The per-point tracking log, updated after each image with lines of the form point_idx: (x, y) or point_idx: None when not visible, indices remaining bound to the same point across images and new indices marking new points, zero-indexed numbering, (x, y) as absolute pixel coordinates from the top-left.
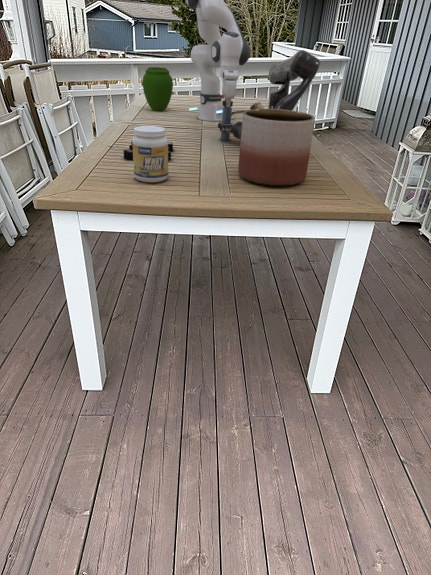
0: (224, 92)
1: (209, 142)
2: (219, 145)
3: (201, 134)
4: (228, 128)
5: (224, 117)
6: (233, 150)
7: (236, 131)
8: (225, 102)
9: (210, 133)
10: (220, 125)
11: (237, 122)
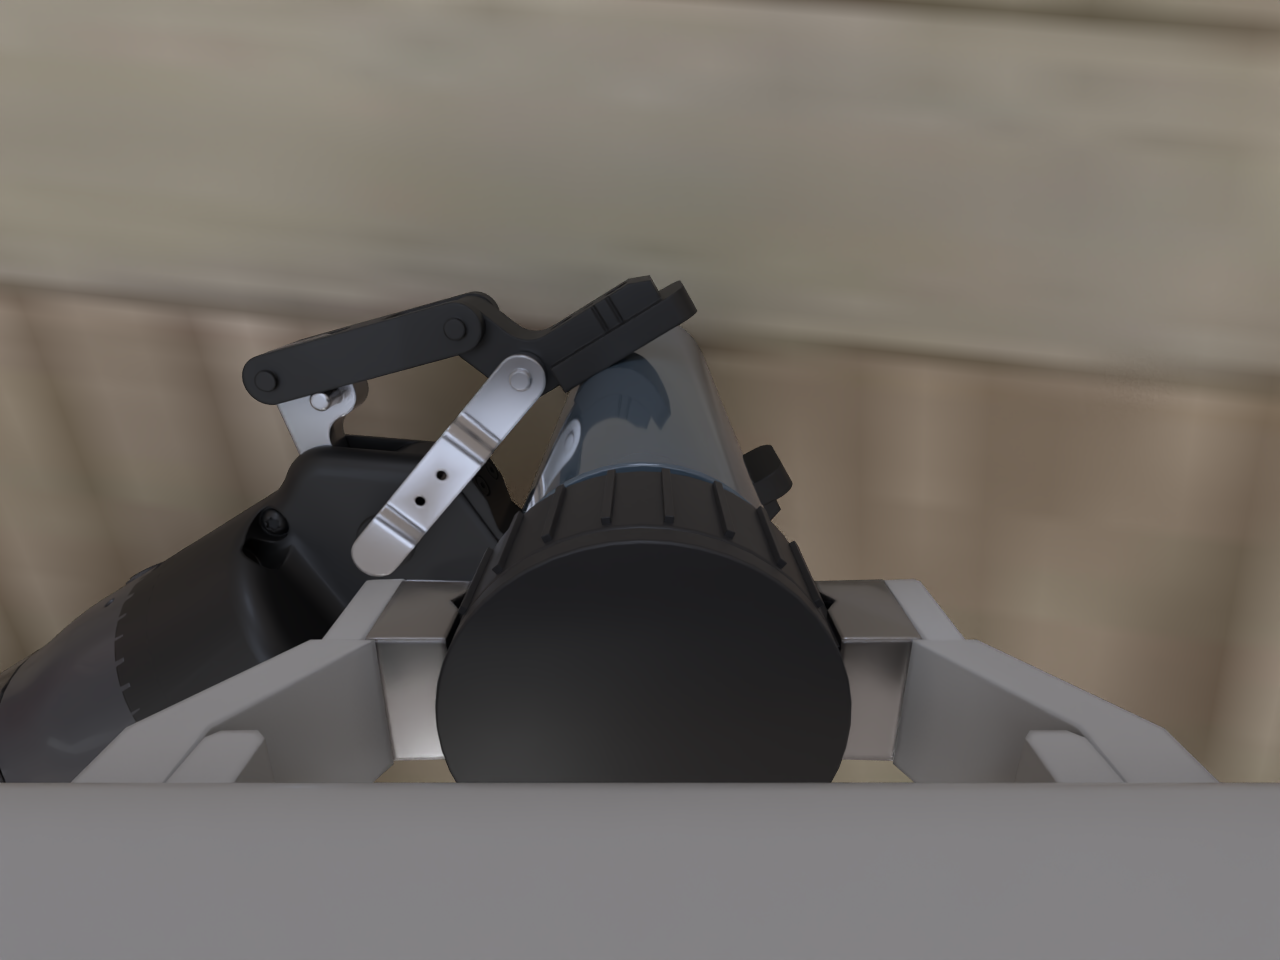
0: (557, 902)
1: (457, 115)
2: (300, 260)
3: (1032, 11)
4: (313, 446)
5: (552, 436)
6: (78, 421)
7: (178, 553)
8: (469, 612)
9: (1096, 190)
10: (420, 311)
11: (240, 641)
